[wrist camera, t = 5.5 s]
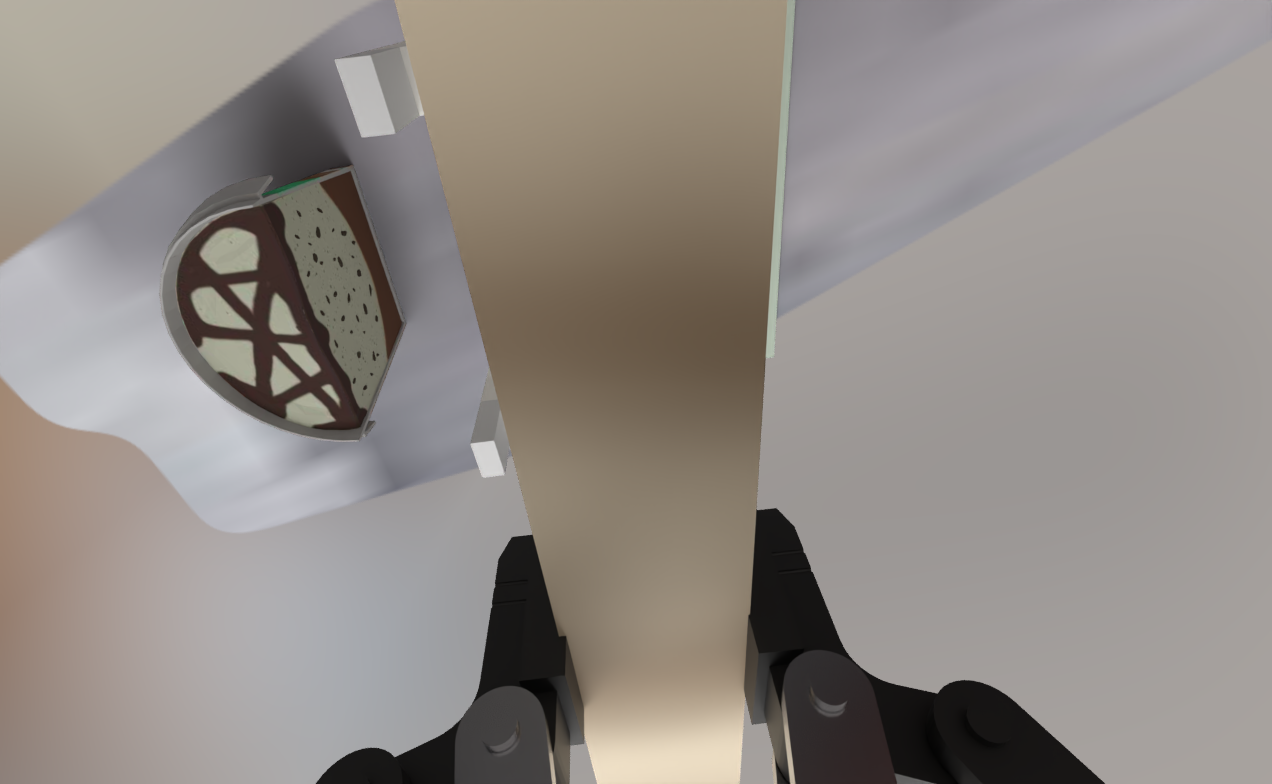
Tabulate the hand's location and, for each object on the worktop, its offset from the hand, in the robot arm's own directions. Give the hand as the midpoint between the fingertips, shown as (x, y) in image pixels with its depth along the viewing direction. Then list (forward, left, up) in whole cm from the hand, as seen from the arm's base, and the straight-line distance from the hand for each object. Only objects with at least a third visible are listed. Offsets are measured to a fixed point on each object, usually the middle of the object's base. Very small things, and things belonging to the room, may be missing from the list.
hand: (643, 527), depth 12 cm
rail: (0, 0, 0) cm, 0 cm away
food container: (+1, -16, -24) cm, 29 cm away
